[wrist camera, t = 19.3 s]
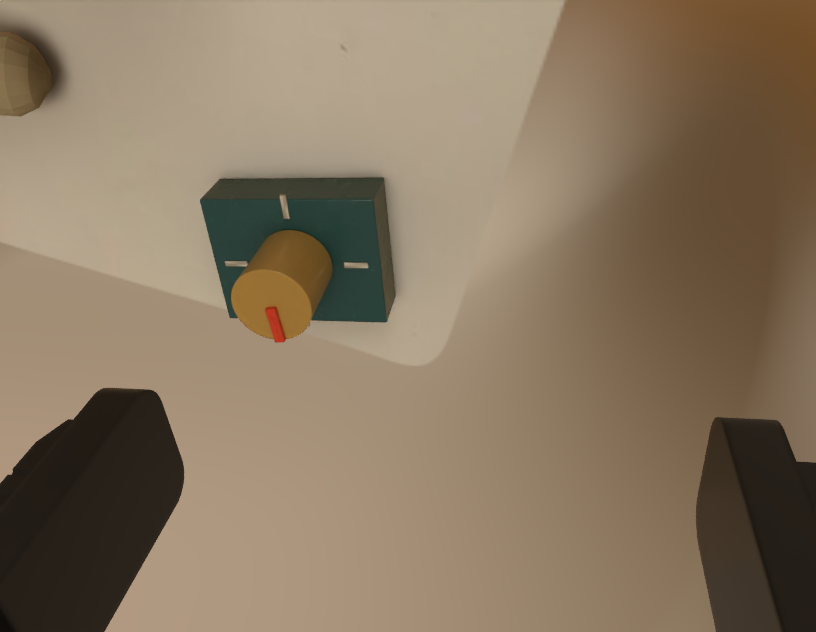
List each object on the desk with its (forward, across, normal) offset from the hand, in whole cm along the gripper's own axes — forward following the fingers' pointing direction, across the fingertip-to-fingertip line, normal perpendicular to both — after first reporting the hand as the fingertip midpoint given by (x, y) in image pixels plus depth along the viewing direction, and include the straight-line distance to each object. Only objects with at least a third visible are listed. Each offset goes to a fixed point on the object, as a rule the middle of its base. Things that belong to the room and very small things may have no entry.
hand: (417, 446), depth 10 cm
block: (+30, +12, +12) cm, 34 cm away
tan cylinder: (+27, +12, +12) cm, 32 cm away
